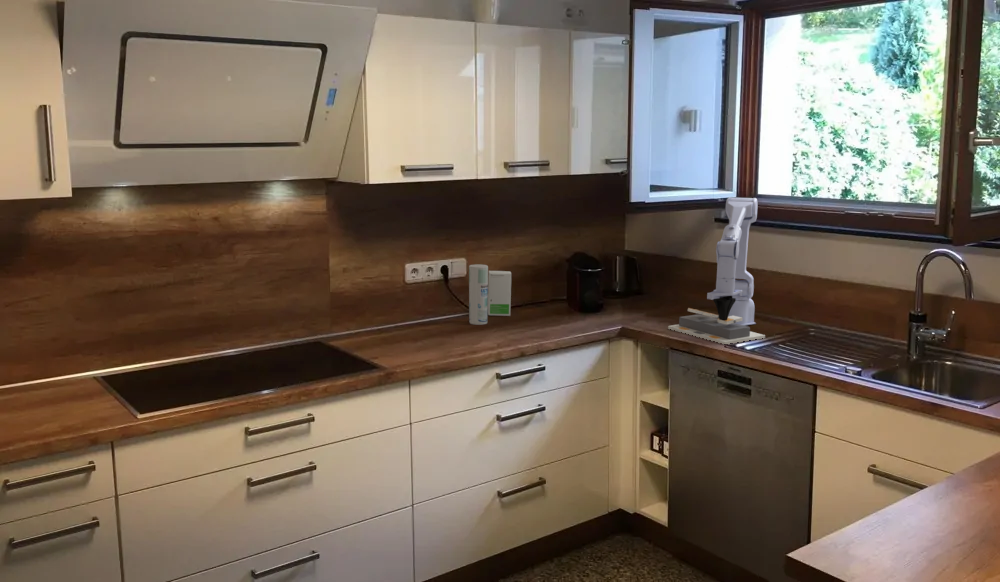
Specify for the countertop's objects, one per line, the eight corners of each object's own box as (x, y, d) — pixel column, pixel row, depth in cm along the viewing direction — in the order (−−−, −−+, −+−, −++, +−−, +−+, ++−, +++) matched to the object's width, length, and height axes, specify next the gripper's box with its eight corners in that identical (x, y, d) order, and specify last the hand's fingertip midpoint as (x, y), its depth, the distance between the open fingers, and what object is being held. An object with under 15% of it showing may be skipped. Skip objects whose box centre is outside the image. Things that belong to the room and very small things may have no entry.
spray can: (481, 325, 295) (481, 267, 292) (465, 323, 298) (465, 266, 295) (491, 322, 301) (491, 265, 297) (475, 320, 304) (475, 263, 300)
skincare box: (488, 316, 311) (488, 273, 308) (487, 312, 317) (487, 270, 315) (511, 315, 311) (511, 273, 308) (510, 312, 318) (510, 270, 315)
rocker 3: (732, 318, 282) (732, 315, 282) (742, 321, 278) (742, 317, 278) (717, 322, 279) (717, 318, 278) (727, 324, 275) (727, 321, 275)
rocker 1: (701, 314, 294) (702, 310, 294) (710, 316, 290) (711, 313, 290) (686, 311, 290) (687, 307, 290) (696, 313, 287) (697, 309, 287)
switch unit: (706, 323, 301) (707, 311, 301) (764, 338, 280) (765, 326, 279) (668, 328, 292) (668, 317, 291) (725, 344, 270) (725, 332, 270)
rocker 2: (716, 318, 288) (717, 314, 288) (726, 320, 284) (727, 317, 284) (701, 314, 284) (702, 311, 284) (711, 317, 281) (712, 313, 281)
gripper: (730, 274, 282) (728, 315, 284) (700, 277, 274) (698, 319, 276) (748, 277, 276) (745, 319, 279) (718, 280, 268) (715, 323, 270)
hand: (723, 319), depth 277 cm, fingers closed, pressing on rocker 3
